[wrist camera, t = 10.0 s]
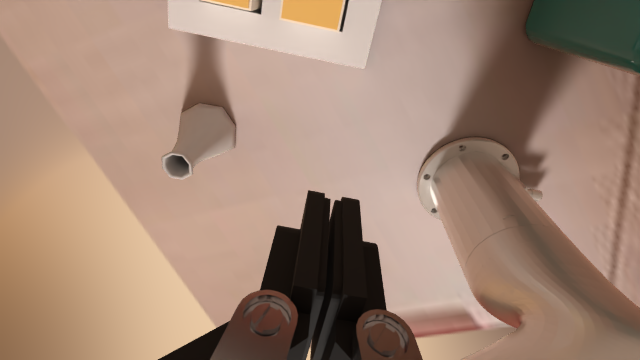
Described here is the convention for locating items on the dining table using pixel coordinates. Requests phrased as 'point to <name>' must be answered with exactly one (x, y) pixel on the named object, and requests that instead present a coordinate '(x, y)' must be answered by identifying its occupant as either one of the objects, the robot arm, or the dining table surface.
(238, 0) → the button
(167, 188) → the dining table surface
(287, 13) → the button
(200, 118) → the flask
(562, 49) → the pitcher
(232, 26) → the button board
